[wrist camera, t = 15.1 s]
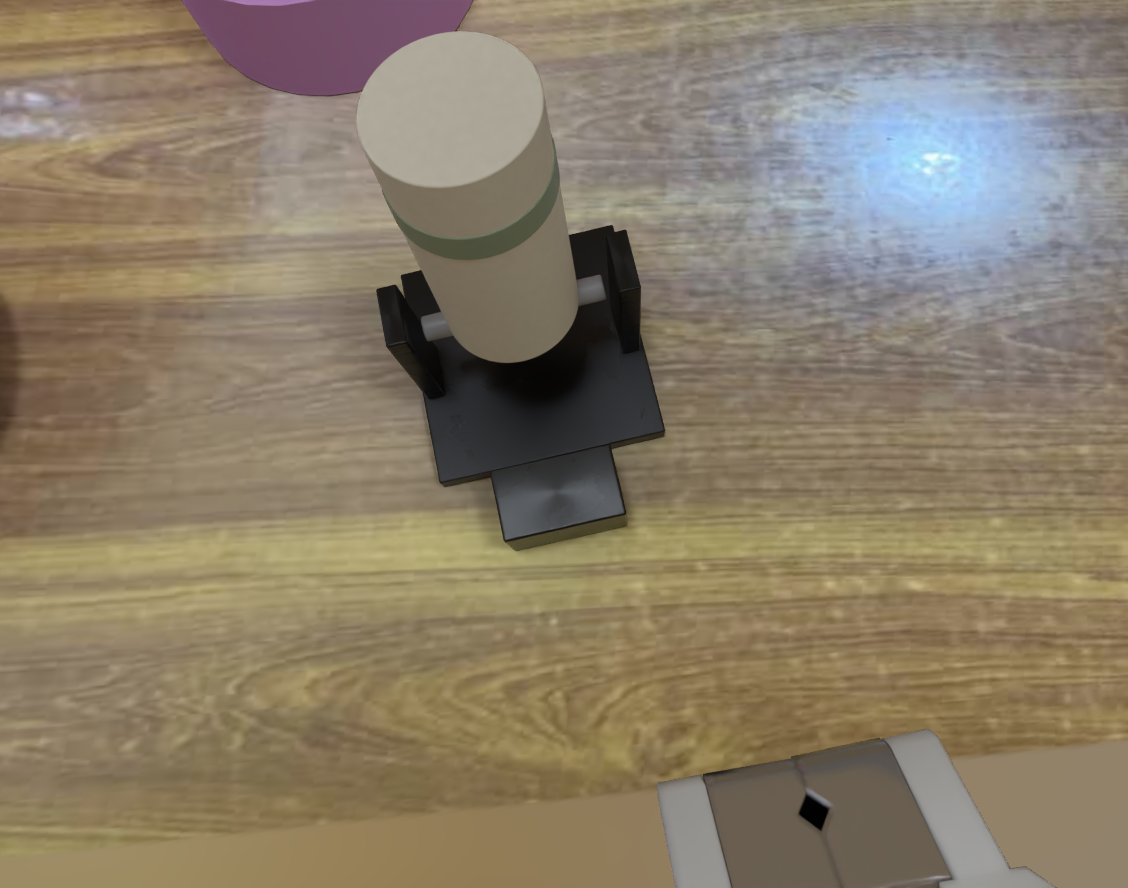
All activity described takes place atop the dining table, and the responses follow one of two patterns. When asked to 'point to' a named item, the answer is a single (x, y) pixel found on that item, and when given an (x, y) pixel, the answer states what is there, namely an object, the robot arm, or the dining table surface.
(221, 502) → the dining table surface
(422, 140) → the beige green-banded cylinder
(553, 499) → the stand
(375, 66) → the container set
